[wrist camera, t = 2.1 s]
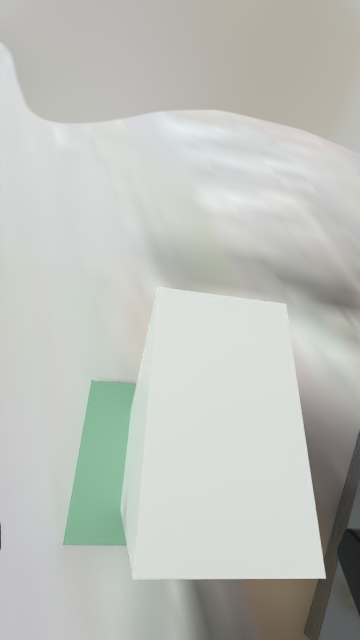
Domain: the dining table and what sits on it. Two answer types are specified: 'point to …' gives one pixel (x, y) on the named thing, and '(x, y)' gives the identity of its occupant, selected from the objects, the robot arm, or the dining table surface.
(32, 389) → the dining table surface
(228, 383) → the column on green base
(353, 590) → the robot arm
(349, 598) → the plate
